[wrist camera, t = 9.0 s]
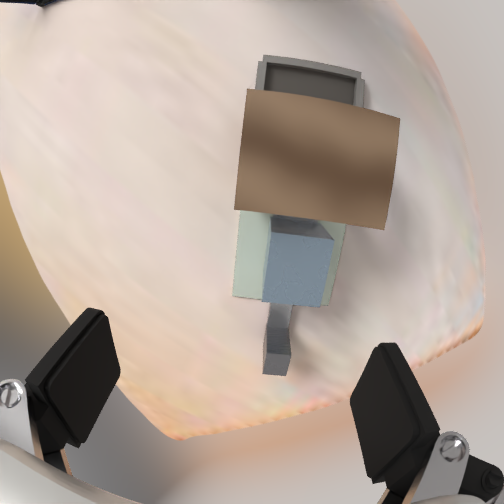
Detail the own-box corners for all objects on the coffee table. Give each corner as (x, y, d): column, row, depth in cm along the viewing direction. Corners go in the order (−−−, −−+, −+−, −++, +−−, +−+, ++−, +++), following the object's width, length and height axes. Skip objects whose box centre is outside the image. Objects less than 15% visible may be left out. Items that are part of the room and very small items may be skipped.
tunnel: (253, 114, 25) (247, 88, 15) (356, 130, 25) (400, 118, 15) (245, 192, 27) (234, 209, 18) (346, 206, 27) (384, 230, 18)
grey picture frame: (259, 58, 23) (259, 54, 21) (361, 76, 22) (364, 73, 21) (253, 109, 24) (252, 107, 23) (357, 126, 24) (361, 125, 23)
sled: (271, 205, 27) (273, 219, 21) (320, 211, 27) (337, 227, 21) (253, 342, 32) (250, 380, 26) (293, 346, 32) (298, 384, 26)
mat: (240, 206, 28) (240, 206, 28) (346, 220, 28) (346, 220, 27) (232, 295, 31) (232, 295, 31) (327, 305, 31) (328, 305, 31)
